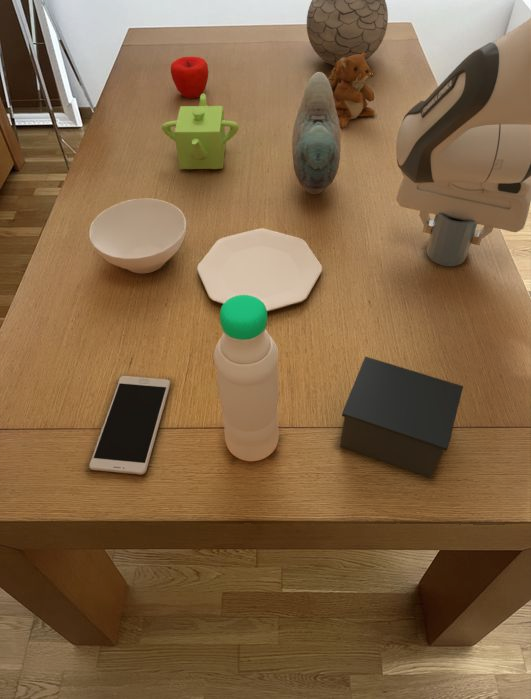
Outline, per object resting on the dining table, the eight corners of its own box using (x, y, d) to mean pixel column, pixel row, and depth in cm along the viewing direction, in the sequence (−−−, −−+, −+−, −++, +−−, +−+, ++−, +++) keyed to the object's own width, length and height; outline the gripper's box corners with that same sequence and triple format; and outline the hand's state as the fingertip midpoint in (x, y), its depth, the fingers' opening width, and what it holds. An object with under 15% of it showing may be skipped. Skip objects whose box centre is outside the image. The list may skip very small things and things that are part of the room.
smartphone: (171, 379, 80) (144, 473, 71) (171, 381, 81) (145, 476, 71) (120, 374, 81) (86, 468, 71) (120, 377, 82) (88, 470, 72)
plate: (187, 252, 99) (186, 246, 98) (291, 226, 103) (291, 219, 102) (222, 330, 87) (221, 323, 86) (337, 296, 92) (338, 290, 90)
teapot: (207, 134, 125) (202, 86, 117) (251, 156, 119) (250, 107, 111) (155, 163, 118) (146, 114, 110) (199, 187, 112) (193, 138, 104)
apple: (195, 82, 141) (192, 49, 135) (218, 94, 137) (215, 60, 131) (166, 94, 138) (161, 61, 132) (188, 106, 133) (184, 73, 127)
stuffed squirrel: (343, 130, 125) (348, 70, 115) (309, 104, 133) (311, 45, 123) (379, 119, 128) (388, 59, 118) (344, 94, 136) (349, 35, 126)
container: (448, 421, 76) (463, 386, 70) (433, 481, 70) (447, 448, 64) (358, 392, 79) (365, 356, 73) (336, 447, 74) (342, 413, 68)
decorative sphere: (297, 76, 142) (299, -14, 127) (314, 44, 155) (317, -41, 139) (375, 85, 139) (387, -7, 123) (386, 51, 151) (398, -36, 136)
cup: (469, 246, 99) (483, 203, 92) (462, 270, 95) (476, 227, 88) (431, 237, 101) (442, 194, 94) (422, 260, 97) (433, 217, 90)
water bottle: (268, 470, 72) (264, 342, 53) (217, 454, 73) (195, 324, 54) (285, 426, 76) (288, 292, 57) (237, 411, 78) (224, 276, 58)
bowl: (80, 277, 96) (69, 245, 90) (129, 222, 105) (121, 190, 100) (164, 301, 92) (157, 268, 86) (206, 241, 101) (202, 209, 96)
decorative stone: (339, 220, 104) (349, 117, 89) (290, 219, 105) (292, 116, 89) (335, 159, 118) (344, 59, 102) (292, 158, 118) (294, 59, 103)
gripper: (399, 160, 85) (386, 233, 96) (541, 189, 80) (510, 263, 91) (409, 139, 89) (395, 212, 100) (545, 166, 84) (515, 239, 94)
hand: (451, 236), depth 95 cm, fingers closed on cup, 7 cm apart
